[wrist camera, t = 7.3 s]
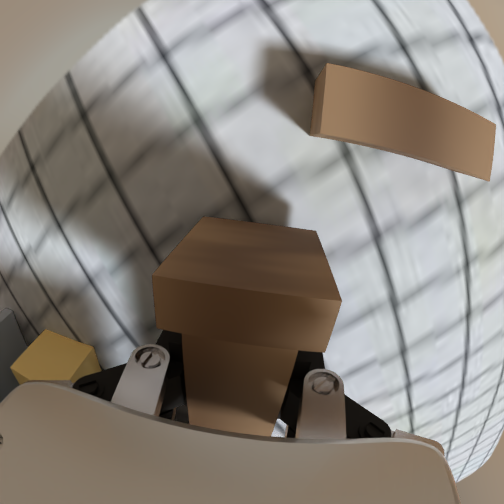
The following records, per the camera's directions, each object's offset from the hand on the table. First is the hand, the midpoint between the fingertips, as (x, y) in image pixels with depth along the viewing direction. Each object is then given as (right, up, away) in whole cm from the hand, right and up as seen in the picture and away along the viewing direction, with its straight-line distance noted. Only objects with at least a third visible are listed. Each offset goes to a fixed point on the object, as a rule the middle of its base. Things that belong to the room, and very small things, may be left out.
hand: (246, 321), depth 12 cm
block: (-13, -6, +6) cm, 16 cm away
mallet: (-4, -5, +3) cm, 7 cm away
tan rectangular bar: (+6, +8, -2) cm, 11 cm away
